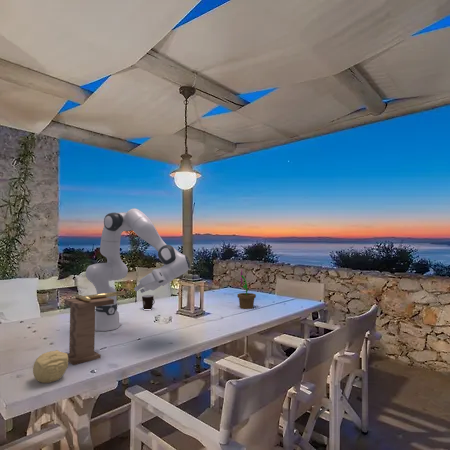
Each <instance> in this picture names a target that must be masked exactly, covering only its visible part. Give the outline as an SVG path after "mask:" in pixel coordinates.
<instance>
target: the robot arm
mask: <svg viewBox="0 0 450 450" xmlns="http://www.w3.org/2000/svg"><path fill="white" fill-rule="evenodd" d="M102 228H103V229H102V233H101V237H100V246H99V252H100V254H101V255H102V256H103V257H105V258H106V260H107V261H106V262H99V263H98V262H97V263H94V264H90V265H88V266H87V268H86V270H85V277H86V279H87V280H88V282H90V283H92V285H93V286H94V288H95V291H96V294H102V293H110V292H117V290H116V288H114V287H112V286H110V282H111V281H119V280H122V279H125V278H126V277H127V275H128V272H129V269H128V266H127V265H126V263H125V262H123V260H122V258H121V255H120V253H121V252H120V251H121V249H120V248H121V237H122V233H123V232H126V233H127V232H132V231H133V233H134V234H136V235H137V236H138V237H139V238H140V239H142V240H143V241H145V242H146V243H148V244H149V245H150V246H152V247H153V248H154V249H155V250H156V251H157V257H158V259H159V261H161V262H162V264H163V266H161V267H159V268H154V269H153V270H151V272H149V273H148V274H146V275H145V276H144V277H141V278H140V280H139V281H138V282H139V284H137V286H135V287H134V288H133V289H134V291H135V292H138V291H140V293H142V294H143V293H146V292H149V291H150V290H151V291H155V290H157V289H158V288H160V287H162V286H165V285H167V284H169V283H171V282H172V281H174V279H176V278H179V277H181V276H183V275H184V274H185V273H187V272H188V271H189V270H190V268H191V261H190V260H189V258H188V256H187V255H186V254H183V253H181V252H180V251H179V250H177V249H176V248H175V247H174V246H172V245H170V244H167V243H165V241H164V240H163V238H162V237H161V236H160V234H159V232H158V230H157V229H156V227H155V225H154V223H153V222H152V220H151V219H150V218H149V217H148V216H147V215H146V214H145V213H144V212H143V211H141V210H140V209H138V208H130V209H129V210H128V211H125V212H124V211H123V212H122V211H121V212H109V213H106V215H105V216H104V218H103V227H102ZM117 297H118V296H112V297H107V298H110V299H114V304H110V305H103V306H97V307H95V332H96V331H97V332H105V331H107V332H108V331H114V330H116V329H118V328H120V326H122V323H121V322H120V312H119V311H118V303H117V302H118V301H117Z"/></svg>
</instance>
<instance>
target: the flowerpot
mask: <svg viewBox="0 0 450 450" xmlns="http://www.w3.org/2000/svg"><path fill="white" fill-rule="evenodd" d="M243 281H244V283H245V284H244V285H243V286H242V288H243V289H245V292H239V293H237V296H236V297H237V298H238V302H239V308H240V309H242V310H252V309H254V304H255V299H256V297H257V295H256V293H253V292H248V290H249V288H248V285H247V281H246V279H245V277H244V275H243V269H241V270H240V285H242V284H243Z"/></svg>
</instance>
